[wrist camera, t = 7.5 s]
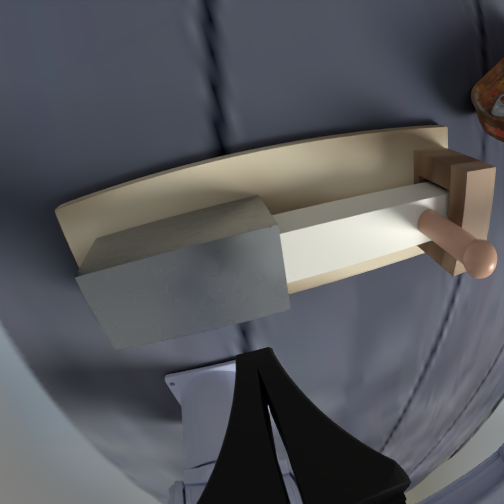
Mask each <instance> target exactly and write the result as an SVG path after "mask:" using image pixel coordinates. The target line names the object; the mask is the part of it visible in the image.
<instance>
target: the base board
mask: <svg viewBox="0 0 504 504" xmlns="http://www.w3.org/2000/svg"><path fill="white" fill-rule="evenodd" d="M440 147H444V148H447V149H448V131H447V127H446V126H442V125H424V126H410V127H398V128H387V129H377V130H368V131H360V132H352V133H344V134H337V135H330V136H323V137H317V138H310V139H304V140H298V141H293V142H287V143H282V144H276V145H271V146H266V147H261V148H256V149H251V150H246V151H242V152H237V153H233V154H228V155H224V156H220V157H215V158H211V159H207V160H203V161H199V162H195V163H191V164H187V165H183V166H180V167H176V168H172V169H169V170H165V171H161V172H158V173H154V174H151V175H148V176H144V177H141V178H138V179H134V180H131V181H128V182H125V183H122V184H118V185H115V186H112V187H109V188H106V189H103V190H100V191H97V192H94V193H92V194H89V195H86V196H83V197H80V198H77V199H75V200H72V201H69V202H67V203H64V204H61V205H60V206H59V207H58V208H57V209H56V210H54V211H55V213H56V216H57V218H58V221H59V223H60V226H61V228H62V230H63V233H64V235H65V238H66V240H67V242H68V244H69V247H70V249H71V251H72V253H73V256H74V258H75V260H76V262H77V264H78V266H79V268H80V266H81V265H82V263H83V261H84V259H85V257H86V255H87V254H88V252H89V250H90V248H91V246H92V245H93V243H94V241H95V239H96V238H99V237H102V236H105V235H109V234H112V233H115V232H119V231H122V230H126V229H129V228H133V227H136V226H140V225H143V224H147V223H150V222H154V221H157V220H161V219H165V218H168V217H172V216H176V215H180V214H183V213H187V212H191V211H195V210H199V209H203V208H207V207H210V206H214V205H219V204H223V203H227V202H231V201H235V200H239V199H243V198H247V197H252V196H256V195H259V197H260V198H261V200H262V201H263V203H264V204H265V206H266V207H267V209H268V210H269V212H270V213H271V215H276V214H280V213H284V212H288V211H293V210H297V209H301V208H306V207H310V206H315V205H319V204H323V203H328V202H332V201H337V200H341V199H346V198H351V197H355V196H360V195H365V194H369V193H374V192H379V191H384V190H388V189H393V188H398V187H403V186H408V185H413V184H414V152H413V151H415V150H423V149H431V148H440ZM422 253H425V252H424V251H423V250H421V249H420V248H419V247H418V246H413V247H410V248H406V249H403V250H400V251H397V252H394V253H390V254H387V255H384V256H380V257H377V258H374V259H370V260H367V261H364V262H360V263H357V264H354V265H350V266H347V267H343V268H340V269H336V270H333V271H329V272H326V273H322V274H319V275H315V276H312V277H308V278H304V279H301V280H297V281H293V282H290V283H287V287H288V294H291V293H295V292H298V291H302V290H305V289H309V288H313V287H316V286H319V285H323V284H326V283H330V282H333V281H337V280H340V279H343V278H347V277H350V276H353V275H357V274H360V273H363V272H366V271H370V270H373V269H376V268H379V267H382V266H385V265H389V264H392V263H395V262H398V261H401V260H404V259H407V258H410V257H413V256H416V255H419V254H422Z"/></svg>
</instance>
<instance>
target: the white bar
mask: <svg viewBox="0 0 504 504" xmlns="http://www.w3.org/2000/svg"><path fill="white" fill-rule="evenodd" d="M449 196H450V190H448V189H446V188H444V187H442V186H440V185H438V184H436V183H434V182H432V181H428V182H423V183H418V184H413V185H408V186H403V187H398V188H393V189H388V190H384V191H379V192H374V193H369V194H365V195H360V196H355V197H351V198H346V199H341V200H337V201H332V202H328V203H323V204H319V205H315V206H310V207H306V208H301V209H297V210H293V211H288V212H284V213H280V214H276V215H272V216H273V218H274V219H275V221H276V222H277V224H278V226H279V233H280V239H281V246H282V252H283V259H284V266H285V273H286V280H287V283H290V282H293V281H297V280H301V279H304V278H308V277H312V276H315V275H319V274H322V273H326V272H329V271H333V270H336V269H340V268H343V267H347V266H350V265H354V264H357V263H360V262H364V261H367V260H370V259H374V258H377V257H380V256H384V255H387V254H390V253H394V252H397V251H400V250H403V249H406V248H410V247H413V246H416V245H419V244H422V243H425V242H428V241H433V242H435V243H436V244H437V245H439V246H440V247H441V248H443V249H444V250H445V251H447V252H448V253H449V254H450V255H452V256H453V257H454V258H455V259H457V260H458V261H459V262H460V263H462V264H463V265H464V268H465V270H466V271H467V273H468V274H469V275H470V276H472V277H474V278H477V279H483V278H486V277H488V276H489V275H490V274H492V272H493V271H494V269H495V267H496V264H497V253H496V250H495V248H494V247H493V245H492V244H491V243H489V242H488V241H486V240H483V239H477V238H476V237H474V236H473V235H471V234H470V233H468V232H467V231H465V230H464V229H462V228H461V227H459V226H458V225H456V224H455V223H453V222H452V221H450V220H449V219H448V209H449Z"/></svg>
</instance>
